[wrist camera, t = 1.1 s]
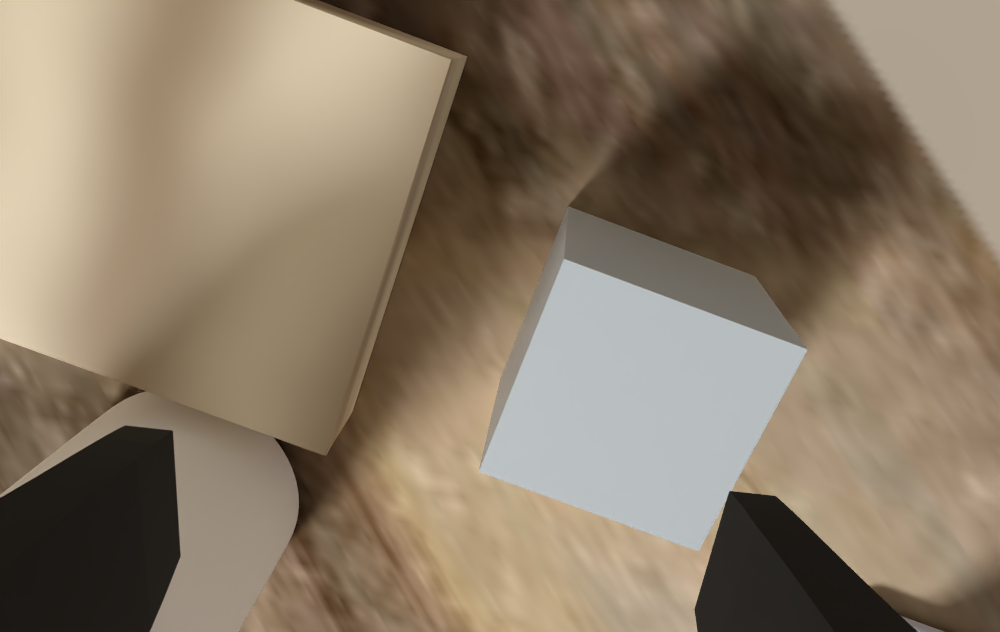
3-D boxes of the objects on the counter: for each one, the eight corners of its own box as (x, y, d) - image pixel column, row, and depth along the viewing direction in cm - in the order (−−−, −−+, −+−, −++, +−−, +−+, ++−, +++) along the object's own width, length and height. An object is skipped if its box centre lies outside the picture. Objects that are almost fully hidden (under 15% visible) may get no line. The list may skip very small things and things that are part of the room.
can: (113, 347, 22) (-361, 666, 11) (331, 430, 23) (82, 824, 11) (75, 528, 25) (-354, 946, 13) (273, 601, 25) (16, 1075, 14)
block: (754, 275, 20) (807, 349, 15) (673, 439, 22) (698, 551, 17) (567, 205, 20) (564, 258, 15) (500, 376, 22) (478, 471, 17)
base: (467, 56, 19) (451, 60, 16) (352, 411, 22) (325, 456, 20) (63, -97, 19) (-13, -116, 16) (10, 287, 22) (-59, 317, 20)
